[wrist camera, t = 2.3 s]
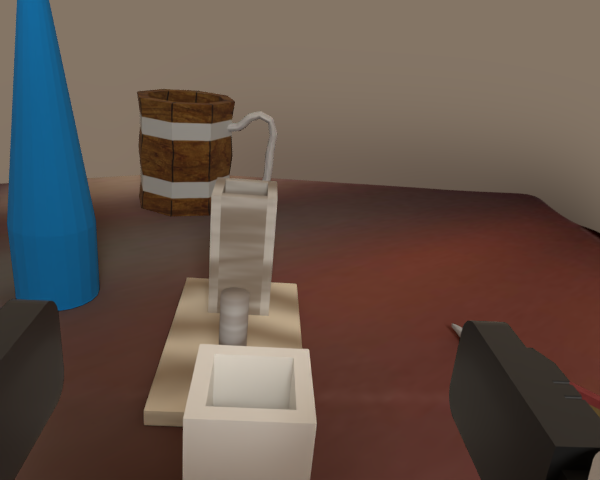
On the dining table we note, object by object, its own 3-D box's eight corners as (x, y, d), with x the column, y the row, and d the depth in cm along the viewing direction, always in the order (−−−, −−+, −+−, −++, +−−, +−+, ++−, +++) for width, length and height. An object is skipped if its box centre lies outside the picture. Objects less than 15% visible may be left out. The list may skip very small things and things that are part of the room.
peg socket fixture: (306, 431, 38) (325, 271, 33) (144, 425, 37) (140, 260, 32) (295, 294, 56) (306, 179, 52) (187, 288, 55) (188, 171, 51)
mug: (122, 210, 74) (117, 97, 69) (154, 183, 87) (152, 86, 81) (265, 226, 74) (273, 113, 68) (277, 196, 86) (284, 99, 80)
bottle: (112, 281, 55) (94, -59, 44) (75, 316, 49) (43, -74, 37) (44, 271, 56) (9, -65, 45) (-2, 305, 49) (-57, -81, 38)
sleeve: (294, 605, 26) (316, 423, 22) (181, 603, 26) (183, 418, 22) (290, 511, 31) (308, 349, 27) (196, 508, 31) (199, 344, 27)
